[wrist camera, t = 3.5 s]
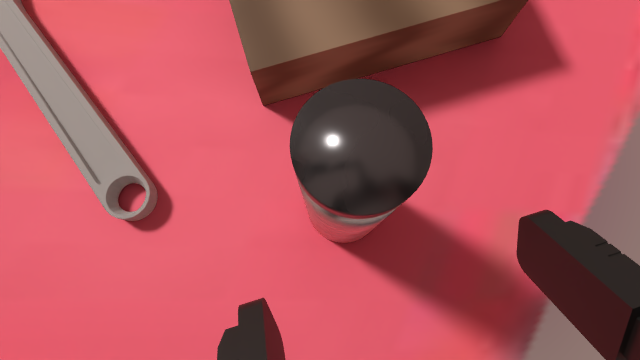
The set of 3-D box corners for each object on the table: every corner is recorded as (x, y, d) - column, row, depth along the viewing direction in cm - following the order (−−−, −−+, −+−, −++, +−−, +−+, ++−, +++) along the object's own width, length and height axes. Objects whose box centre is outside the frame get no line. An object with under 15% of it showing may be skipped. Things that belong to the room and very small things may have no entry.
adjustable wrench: (172, 204, 22) (159, 198, 20) (72, 267, 21) (50, 267, 20) (1, -85, 27) (-21, -108, 25) (-85, -41, 26) (-114, -63, 24)
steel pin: (320, 252, 21) (313, 232, 10) (299, 184, 22) (273, 100, 11) (389, 230, 21) (454, 189, 10) (365, 164, 22) (403, 62, 11)
